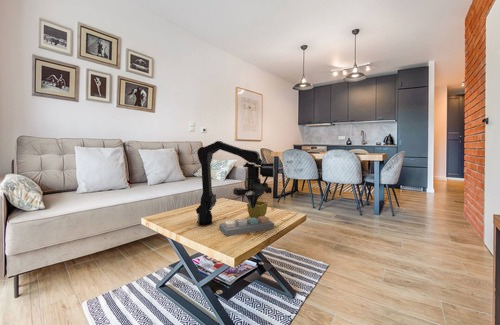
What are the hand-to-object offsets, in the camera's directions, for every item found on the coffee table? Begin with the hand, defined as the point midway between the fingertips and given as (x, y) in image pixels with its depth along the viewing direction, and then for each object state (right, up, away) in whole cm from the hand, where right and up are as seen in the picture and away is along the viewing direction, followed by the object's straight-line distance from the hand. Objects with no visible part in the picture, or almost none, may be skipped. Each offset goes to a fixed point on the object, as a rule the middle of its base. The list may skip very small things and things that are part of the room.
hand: (252, 207), depth 112 cm
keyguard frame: (-3, -10, -1) cm, 10 cm away
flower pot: (+3, -9, +15) cm, 18 cm away
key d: (+5, -9, +3) cm, 10 cm away
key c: (0, -9, +1) cm, 9 cm away
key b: (-5, -9, -2) cm, 10 cm away
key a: (-11, -9, -5) cm, 15 cm away
